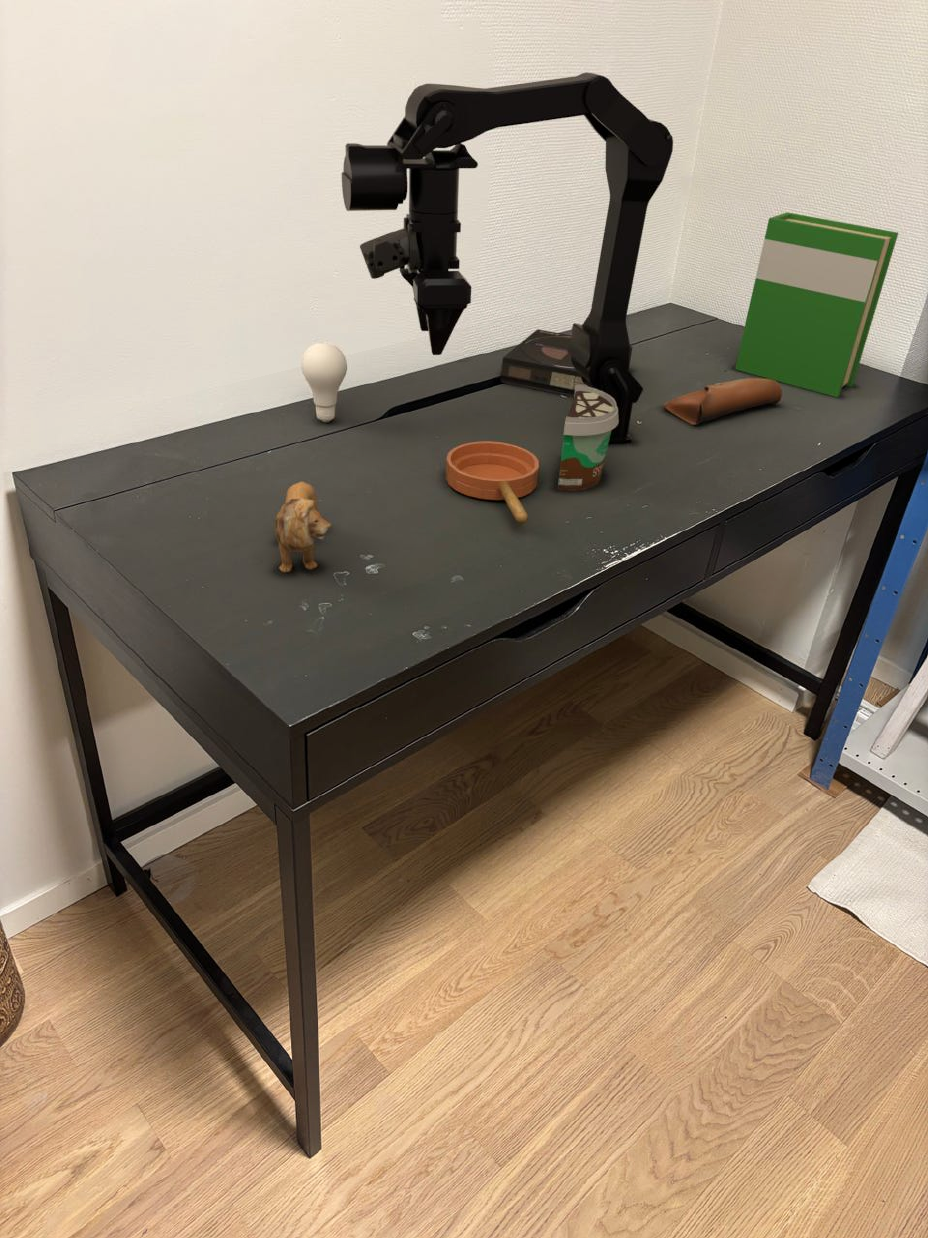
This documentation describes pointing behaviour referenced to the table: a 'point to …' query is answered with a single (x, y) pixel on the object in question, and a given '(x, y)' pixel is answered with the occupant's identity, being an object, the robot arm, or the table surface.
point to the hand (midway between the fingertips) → (430, 342)
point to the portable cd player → (542, 364)
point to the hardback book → (814, 301)
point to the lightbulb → (324, 376)
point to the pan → (491, 469)
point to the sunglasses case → (724, 399)
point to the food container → (586, 438)
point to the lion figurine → (299, 525)
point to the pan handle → (513, 502)
